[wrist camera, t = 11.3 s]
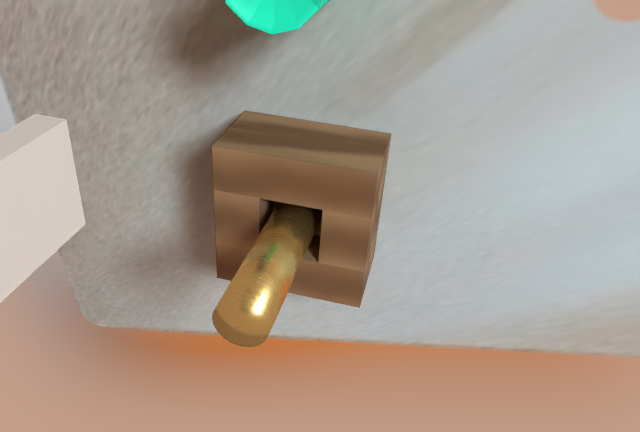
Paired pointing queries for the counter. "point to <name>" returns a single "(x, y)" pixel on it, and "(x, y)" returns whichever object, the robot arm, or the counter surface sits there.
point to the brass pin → (266, 275)
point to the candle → (275, 13)
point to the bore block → (301, 197)
